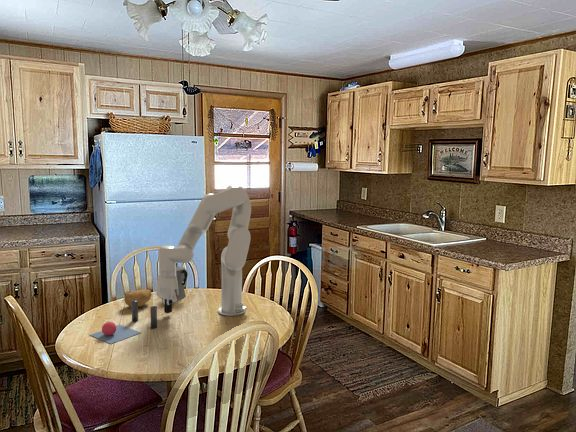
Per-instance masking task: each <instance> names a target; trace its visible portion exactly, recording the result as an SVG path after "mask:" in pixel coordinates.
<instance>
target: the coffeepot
mask: <svg viewBox="0 0 576 432" xmlns="http://www.w3.org/2000/svg"><path fill="white" fill-rule="evenodd" d="M178 264H179V263H177V262H176V277H177V281H178V297H177V300H182V299H184V298H185V297H186V292H185V287H184V286H185V285H186V284H187V279H188V271H187V270H186V268H185V267H184V266H179V265H178Z"/></svg>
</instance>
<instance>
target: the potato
mask: <svg viewBox="0 0 576 432" xmlns="http://www.w3.org/2000/svg"><path fill="white" fill-rule="evenodd" d="M151 298H152V291H151V290H150V289H147V288H146V289H145V288H143V289H137V290H133V291H130V292H126V294H125V295H124V298H123V300H124V303H125V304H126V306H127V307H131V308H132V301H133V300H138V308H141V307H143V306H145V305H146V304H147V303H148V302H149V301H150V299H151Z"/></svg>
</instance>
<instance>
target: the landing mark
mask: <svg viewBox="0 0 576 432" xmlns="http://www.w3.org/2000/svg"><path fill="white" fill-rule="evenodd" d="M140 334H142V332H141V331H137V330H135V329H133V328H129V327H127V326H125V325H122V324H118V325H116V332H115V333H114V334H113V335H111V336H106V335H104V334H103V332H102V330H100V331H97V332H95V333H91V334H89V336H91V337H93V338H95V339H97V340H99V341H102V342H105V343H106V344H109V345H112V344H115V343H118V342H121V341H123V340H127V339H129V338H131V337H134V336H137V335H140Z"/></svg>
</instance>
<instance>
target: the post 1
mask: <svg viewBox="0 0 576 432" xmlns="http://www.w3.org/2000/svg"><path fill="white" fill-rule="evenodd" d="M131 322H134V323H137V322H139V307H138V300H133V301H132V307H131Z"/></svg>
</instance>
